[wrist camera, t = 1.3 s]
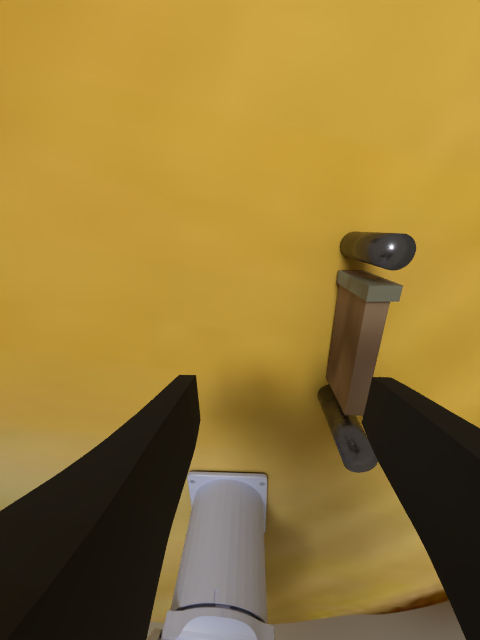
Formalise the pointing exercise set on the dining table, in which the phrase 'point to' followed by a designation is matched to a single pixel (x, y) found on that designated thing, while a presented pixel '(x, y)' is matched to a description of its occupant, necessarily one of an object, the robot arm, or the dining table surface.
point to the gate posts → (345, 429)
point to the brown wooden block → (358, 335)
